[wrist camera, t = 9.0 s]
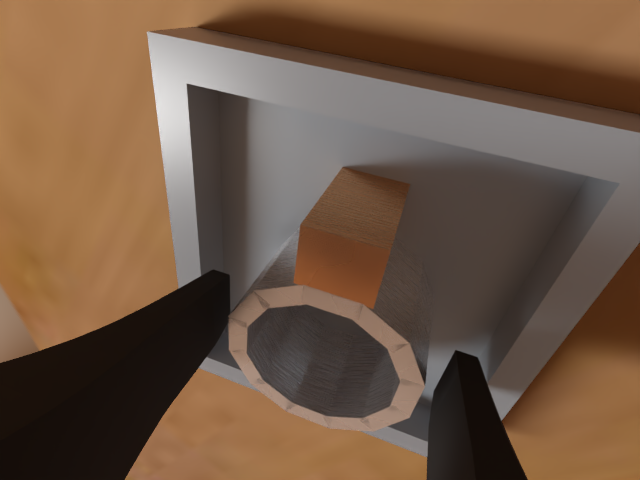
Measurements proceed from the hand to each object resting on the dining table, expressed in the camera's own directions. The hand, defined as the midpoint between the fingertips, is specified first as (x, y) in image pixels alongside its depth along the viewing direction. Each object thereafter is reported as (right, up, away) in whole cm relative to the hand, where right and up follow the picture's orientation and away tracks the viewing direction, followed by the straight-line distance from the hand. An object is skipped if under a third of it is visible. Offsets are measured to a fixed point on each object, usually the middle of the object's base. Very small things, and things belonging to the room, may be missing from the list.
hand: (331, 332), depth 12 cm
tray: (+1, +2, +2) cm, 3 cm away
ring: (+1, +1, +2) cm, 2 cm away
